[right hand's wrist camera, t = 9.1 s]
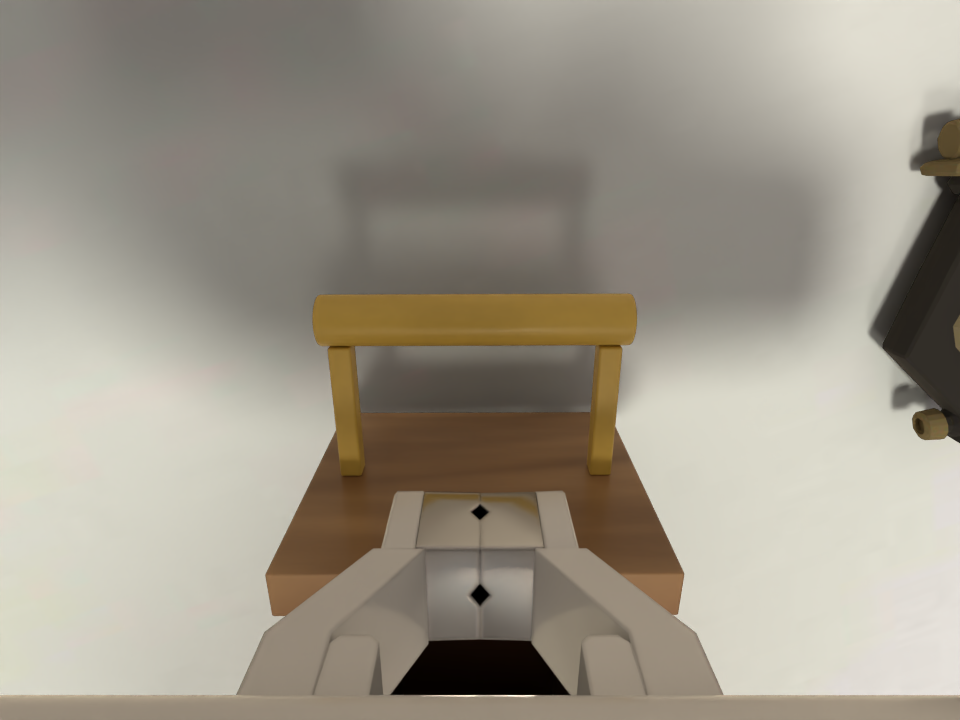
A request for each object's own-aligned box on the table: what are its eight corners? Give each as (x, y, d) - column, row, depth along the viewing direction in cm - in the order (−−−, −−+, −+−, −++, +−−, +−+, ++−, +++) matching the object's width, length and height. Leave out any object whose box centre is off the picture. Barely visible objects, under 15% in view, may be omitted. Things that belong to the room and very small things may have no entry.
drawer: (329, 264, 18) (225, 352, 11) (622, 263, 18) (720, 351, 11) (382, 798, 27) (346, 1042, 20) (575, 797, 27) (610, 1041, 20)
